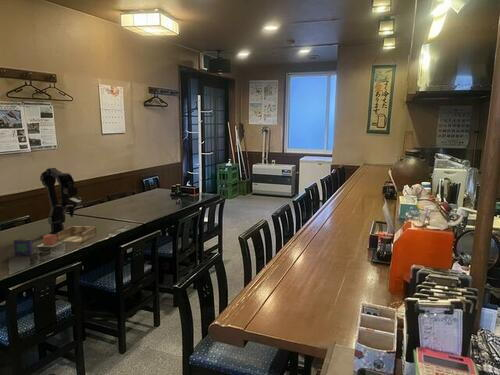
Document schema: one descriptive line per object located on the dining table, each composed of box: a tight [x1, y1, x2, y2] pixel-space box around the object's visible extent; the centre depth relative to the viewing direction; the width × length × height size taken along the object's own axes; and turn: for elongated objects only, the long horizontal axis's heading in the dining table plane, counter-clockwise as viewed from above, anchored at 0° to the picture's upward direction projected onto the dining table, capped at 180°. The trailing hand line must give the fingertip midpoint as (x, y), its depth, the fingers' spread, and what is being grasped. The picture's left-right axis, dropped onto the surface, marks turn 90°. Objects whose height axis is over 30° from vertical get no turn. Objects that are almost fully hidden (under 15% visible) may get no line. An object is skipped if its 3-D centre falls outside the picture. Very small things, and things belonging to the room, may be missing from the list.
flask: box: [13, 235, 34, 257], centre depth 190 cm, size 9×3×11 cm, turn 95°
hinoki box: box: [56, 225, 97, 243], centre depth 218 cm, size 16×15×6 cm
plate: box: [36, 240, 65, 248], centre depth 206 cm, size 10×10×1 cm
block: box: [42, 233, 58, 245], centre depth 206 cm, size 5×5×5 cm
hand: (67, 218), depth 219 cm, fingers open, 9 cm apart
